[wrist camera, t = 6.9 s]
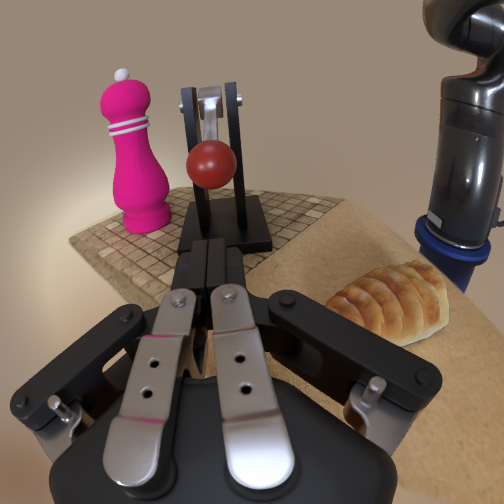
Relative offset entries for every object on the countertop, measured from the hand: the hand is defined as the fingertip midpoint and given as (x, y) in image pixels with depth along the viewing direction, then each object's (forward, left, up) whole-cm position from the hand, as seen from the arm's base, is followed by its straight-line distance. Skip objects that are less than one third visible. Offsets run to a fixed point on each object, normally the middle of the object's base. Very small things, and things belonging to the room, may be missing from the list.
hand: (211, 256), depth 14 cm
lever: (0, -14, +3) cm, 14 cm away
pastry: (-12, -1, -8) cm, 14 cm away
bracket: (0, -18, -8) cm, 19 cm away
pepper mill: (+10, -22, -8) cm, 25 cm away
